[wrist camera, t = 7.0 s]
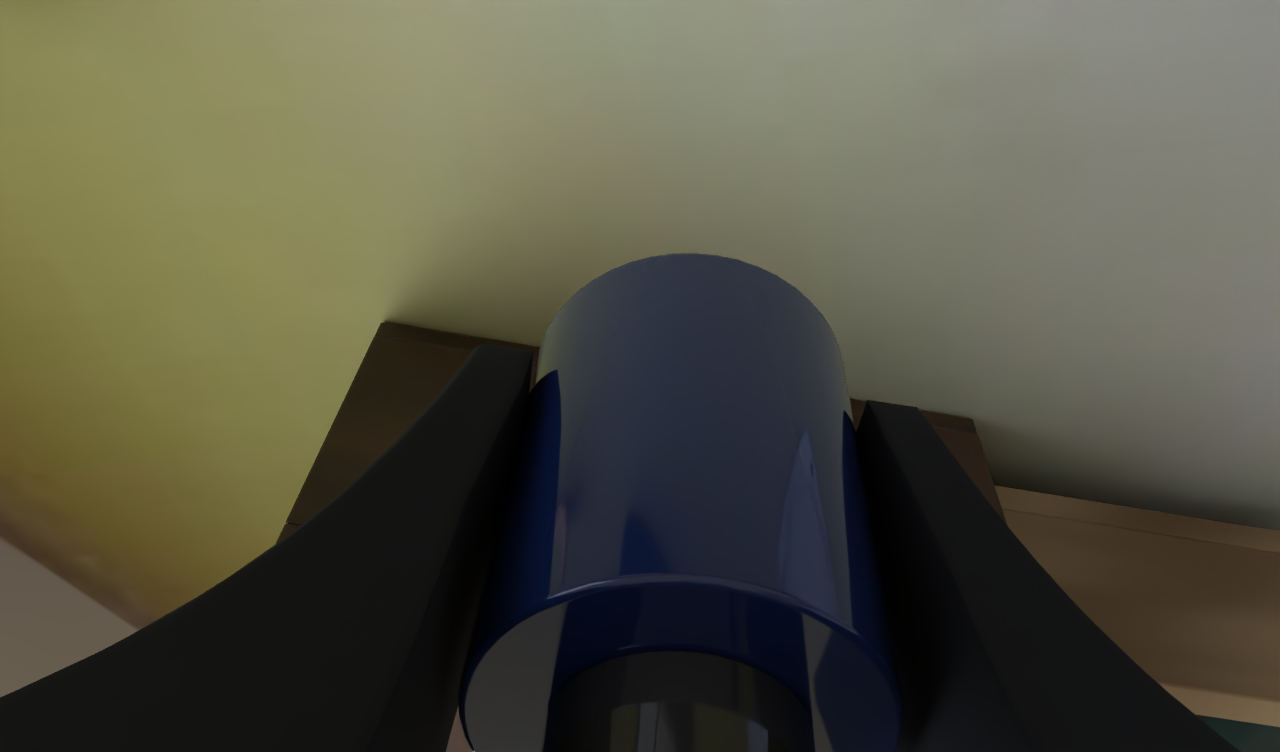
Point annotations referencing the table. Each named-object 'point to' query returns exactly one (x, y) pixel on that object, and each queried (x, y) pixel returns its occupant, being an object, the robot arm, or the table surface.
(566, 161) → the table surface
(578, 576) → the ink bottle
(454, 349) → the cabinet
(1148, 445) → the table surface
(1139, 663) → the drawer
